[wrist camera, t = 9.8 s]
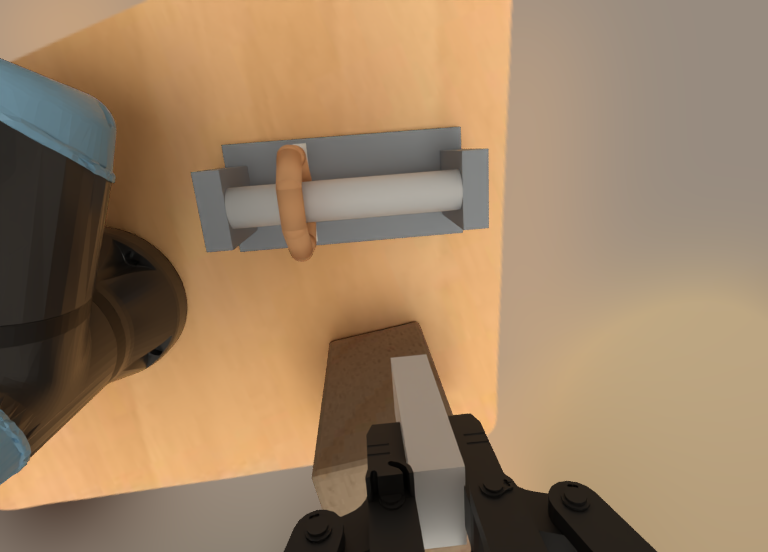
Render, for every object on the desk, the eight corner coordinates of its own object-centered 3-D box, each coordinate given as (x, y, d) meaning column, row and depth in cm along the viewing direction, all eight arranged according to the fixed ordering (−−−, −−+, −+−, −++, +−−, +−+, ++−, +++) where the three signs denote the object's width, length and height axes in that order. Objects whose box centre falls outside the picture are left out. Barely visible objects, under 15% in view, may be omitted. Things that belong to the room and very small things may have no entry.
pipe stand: (242, 249, 42) (211, 277, 33) (224, 145, 39) (184, 143, 30) (460, 230, 43) (489, 252, 34) (458, 127, 40) (488, 120, 31)
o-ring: (300, 246, 39) (285, 272, 31) (287, 146, 36) (266, 145, 28) (320, 244, 39) (310, 270, 31) (308, 144, 36) (294, 143, 28)
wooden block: (418, 319, 46) (463, 441, 27) (435, 397, 49) (487, 558, 30) (328, 340, 46) (308, 477, 27) (350, 417, 49) (347, 590, 30)
